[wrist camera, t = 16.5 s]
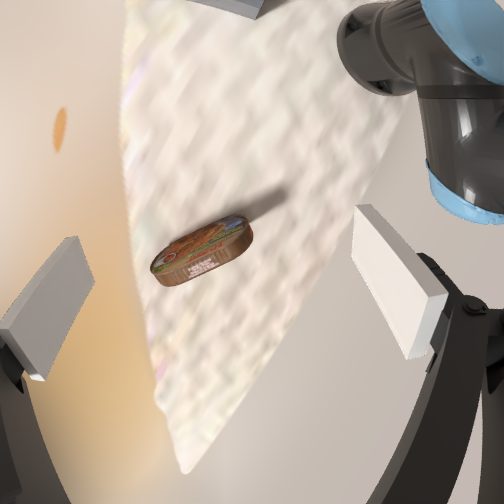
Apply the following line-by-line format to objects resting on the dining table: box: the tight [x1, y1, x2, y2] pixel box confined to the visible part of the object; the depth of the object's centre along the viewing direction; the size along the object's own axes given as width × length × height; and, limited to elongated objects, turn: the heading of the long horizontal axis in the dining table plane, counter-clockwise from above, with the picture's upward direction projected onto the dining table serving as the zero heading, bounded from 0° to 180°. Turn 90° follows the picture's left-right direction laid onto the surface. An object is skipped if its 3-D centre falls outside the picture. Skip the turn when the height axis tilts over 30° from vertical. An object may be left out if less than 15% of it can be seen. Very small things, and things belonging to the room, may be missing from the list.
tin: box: [150, 215, 253, 287], centre depth 42 cm, size 15×3×8 cm, turn 114°
